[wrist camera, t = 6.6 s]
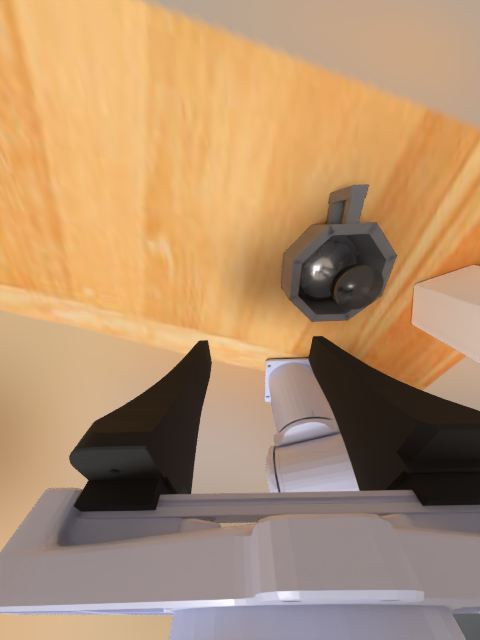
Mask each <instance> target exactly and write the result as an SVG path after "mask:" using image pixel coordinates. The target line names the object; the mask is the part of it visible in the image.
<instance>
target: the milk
mask: <svg viewBox="0 0 480 640" xmlns="http://www.w3.org/2000/svg"><path fill="white" fill-rule="evenodd" d="M411 324H412V325H414V326H415V327H417V328H419V329H421V330H422V331H424V332H426V333H428V334H429V335H431V336H433V337H435V338H436V339H438V340H440V341H442V342H443V343H445V344H447V345H448V346H450V347H452V348H454V349H455V350H457V351H459V352H461V353H462V354H464V355H466V356H468V357H469V358H471V359H473V360H475V361H476V362H478V363H480V266H477V265H470V266H467V267H464V268H461V269H459V270H456V271H453V272H450V273H447V274H444V275H441V276H438V277H435V278H432V279H429V280H426V281H423V282H420V283H417V284H415V285H414V294H413V307H412V319H411Z"/></svg>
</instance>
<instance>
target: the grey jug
mask: <svg viewBox="0 0 480 640" xmlns="http://www.w3.org/2000/svg"><path fill="white" fill-rule="evenodd" d="M368 187H369V185H353V186H350V187H347V188H344V189H341V190H339V191H336V192H333V193H330V199H329V204H330V206H329V212H328V217H327V223H326V224H319V225H311V226H310V227H309V228H308V229H307V230H306V231H305V232H304V233H303V234H302V235H301V236H300V237H299V238H298V239H297V240H296V241H295V242H294V243H293V244H292V245H291V246H290V248H289V249H288V250H287V251H286V252H285V253H284V254H283V266H282V279H281V288H282V289H283V291H284V292H285V294H286V295H287V297H288V298H289V300H290V301H291V302H292V303H293V304H294V305H295V306H296V307H298V308H299V309H300V310H301V311H302V312H303V313H304V314H305V315H306V316H307V317H308V318H309V319H310V320H311V321H312V322H316V321H343V320H349V319H350V318H351V317H353V316H354V315H356V314H357V313H358V312H360V311H361V310H363V309H364V308H365V307H367V306H368V305H367V306H365V307H363V308H360V309H354V310H353V309H347V308H344V307H343V306H341V305H340V304H339V303H338V302H336V301H335V300H334V299H333V298H332V296H329V297H324V298H316V297H312V296H310V295H308V294H306V293H305V292H304V291H303V290H302V289H301V288H300V286H299V284H300V276H301V268H302V263H303V262H304V261H305V260H307V259H308V258H309V257H310V256H311V255H312V254H313V253H314V252H315V251H316V250H317V249H318V248H319V247H320V246H321V245H322V244H323V243H324V242H325V241H338V242H342V243H344V244H346V245H347V246H349V247H350V248H351V249H352V251H353V253H354V255H355V260H356V264H362V265H366V266H369V267H372V268H375V269H377V270H378V271H380V273H381V274H382V276H383V280H384V284H383V288H382V290H381V292H380V294H379V296H378V297H377V298H376V299H375V300H377V299H378V298H379V297H381V296H382V294H383V291H384V289H385V286H386V283H387V281H388V278H389V276H390V273H391V270H392V268H393V265H394V262H395V260H396V257H397V255H396V253H395V251H394V250H393V248H392V246H391V245H390V243H389V242H388V240H387V238H386V237H385V235H384V233H383V232H382V230H381V228H380V227H379V225H378V224H377V222H367V223H359V219H360V215H361V211H362V207H363V203H364V199H365V198H366V195H367V191H368ZM344 202H346V205H345V209H344V214H343V219H342V223H340V221H341V217H342V212H343V207H344ZM344 235H346V236H347V237H346V236H344ZM358 253H359V255H358ZM299 295H300V296H301V297H303V298H305V299H307V300H303V299H302V298H301V297H300V296H299ZM329 298H330V299H329ZM375 300H374V301H375ZM374 301H373V302H374ZM370 304H371V303H370ZM370 304H369V305H370Z"/></svg>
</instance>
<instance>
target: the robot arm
mask: <svg viewBox="0 0 480 640" xmlns="http://www.w3.org/2000/svg"><path fill="white" fill-rule="evenodd" d="M211 364H212V362H211V356H210V350H209V344H208V340H207V341H198V343H197V344H196V345H195V346H194V347H193V348H192V349H191V350H190V352H189V353H188V354H187V355H186V356H185V357H184V358H183V359H182V360H181V361H180V363H178V364H177V365H176V367H174V368H173V369H172V370H171V371H170V372H169V373H168V374H167V375H166V376H165V377H163V378H162V379H161V380H160V381H159V382H157V383H156V384H155V385H153V386H152V387H151V388H149V389H148V390H146V391H145V392H144V393H143V394H141V395H139V396H138V397H136V398H135V399H133V400H131V401H130V402H128V403H127V404H125V405H123V406H122V407H120V408H118V409H116V410H115V411H113V412H111V413H109V414H108V415H106V416H104V417H102V418H100V419H98V420H96V421H95V422H94V423H93V424H92V426H91V427H90V428H89V430H88V431H87V432H86V434H85V435H84V436H83V438H82V439H81V440H80V442H79V443H78V445H77V446H76V447H75V448H74V450H73V451H72V452H71V454H70V456H69V459H70V463H71V464H72V466H73V467H74V468H75V469H76V470H78V471H79V472H80V473H81V474H82V475H83V476H85V477H86V478H87V479H88V480H89V481H88V482H87V484H86V486H85V487H84V489H83V490H82V489H78V488H49V489H47V490H45V492H44V493H43V494H42V496H41V497H40V499H39V500H38V501H37V503H36V504H35V505H34V507H33V508H32V510H31V511H30V512H29V514H28V515H27V516H26V518H25V519H24V521H23V522H22V524H21V525H20V526H19V527H18V529H17V530H16V531H15V533H14V534H13V536H12V537H11V538H10V540H9V541H8V542H7V544H6V545H5V547H4V548H3V549H2V551H1V552H0V614H19V615H22V614H23V615H27V614H28V615H29V614H83V615H84V614H85V615H86V614H88V615H91V614H93V615H97V614H98V615H99V614H100V615H173V617H172V623H171V629H170V635H169V640H466V639H465V637H464V635H463V634H462V632H461V630H460V628H459V626H458V625H457V623H456V621H455V619H454V617H453V616H452V613H480V411H478V410H475V409H472V408H469V407H466V406H463V405H460V404H457V403H454V402H451V401H448V400H445V399H442V398H440V397H437V396H435V395H432V394H429V393H427V392H424V391H422V390H419V389H417V388H414V387H412V386H409V385H407V384H405V383H403V382H400V381H398V380H396V379H394V378H392V377H390V376H387V375H385V374H384V373H382V372H380V371H378V370H376V369H374V368H372V367H370V366H368V365H367V364H365V363H363V362H362V361H360V360H358V359H357V358H355V357H353V356H352V355H350V354H349V353H347V352H346V351H344V350H342V349H341V348H339V347H338V346H337V345H335V344H334V343H332V342H331V341H329V340H328V339H326V338H324V337H323V336H314V337H313V339H312V344H311V349H310V354H309V358H301V359H271V360H267V361H266V371H265V401H266V402H271V406H272V412H273V418H274V423H275V429H276V434H275V435H274V442H275V445H274V446H271V447H270V448H269V451H268V454H267V457H266V474H267V482H268V488H269V493H227V494H226V493H225V494H224V493H223V494H191V488H192V479H193V470H194V461H195V453H196V445H197V437H198V430H199V423H200V417H201V411H202V406H203V402H204V398H205V394H206V390H207V386H208V382H209V378H210V372H211ZM268 365H269V366H268ZM246 522H257V523H255V524H247V525H239V526H230V527H222V528H220V527H221V526H220V524H219V523H246Z"/></svg>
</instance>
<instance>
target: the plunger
mask: <svg viewBox="0 0 480 640" xmlns="http://www.w3.org/2000/svg"><path fill="white" fill-rule="evenodd" d="M383 284H384V280H383V276H382V274H381V273H380V271H378V270H377V269H375V268H372V267H369V266H366V265H362V264H356V260H355V255H354V253H353V251H352V249H351V248H350V247H349V246H347V245H346V244H344V243H342V242H338V241H325V242H324V243H323V244H322V245H321V246H320V247H319V248H318V249H317V250H316V251H315V252H314V253H313V254H312V255H311V256H310V257H309V258H308V259H307V260H305V261H304V262H303V263H302V268H301V276H300V284H299V286H300V288H301V289H302V290H303V291H304V292H305V293H306V294H308V295H310V296H312V297H316V298H324V297H329V296H332V298H333V299H334V300H335V301H336V302H338V303H339V304H340V305H341V306H343V307H344V308H347V309H353V310H354V309H360V308H363V307H365V306H367V305H369V304H370V303H372V302H373V301H374V300H375V299H376V298H377V297H378V296H379V294H380V292H381V290H382V288H383Z"/></svg>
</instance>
